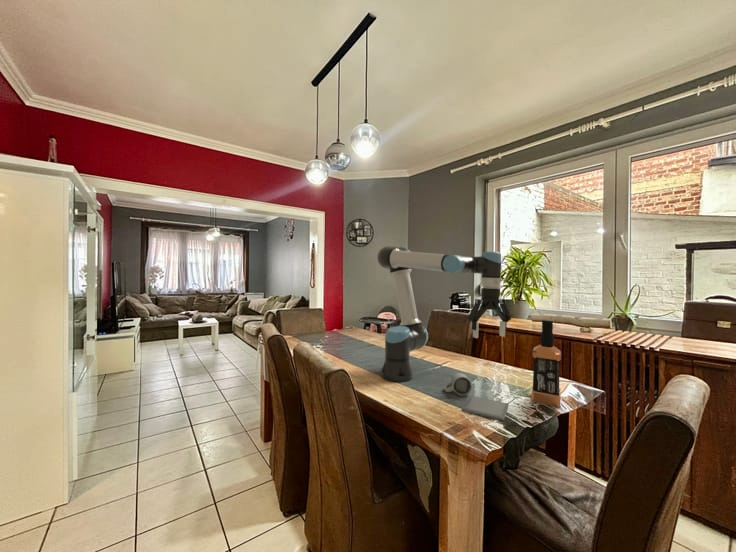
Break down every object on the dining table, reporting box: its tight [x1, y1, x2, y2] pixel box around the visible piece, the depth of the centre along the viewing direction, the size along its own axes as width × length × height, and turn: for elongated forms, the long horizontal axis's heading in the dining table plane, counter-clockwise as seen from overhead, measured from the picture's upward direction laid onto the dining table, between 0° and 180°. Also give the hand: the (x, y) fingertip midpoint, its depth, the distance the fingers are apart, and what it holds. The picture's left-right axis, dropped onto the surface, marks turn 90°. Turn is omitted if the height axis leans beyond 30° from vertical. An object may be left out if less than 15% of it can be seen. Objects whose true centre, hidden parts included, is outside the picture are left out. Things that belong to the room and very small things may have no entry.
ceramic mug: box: [443, 372, 473, 396], centre depth 129 cm, size 11×8×8 cm
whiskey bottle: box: [530, 319, 562, 408], centre depth 122 cm, size 10×10×32 cm
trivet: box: [461, 395, 510, 422], centre depth 114 cm, size 14×14×1 cm
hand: (489, 336), depth 131 cm, fingers open, 13 cm apart
